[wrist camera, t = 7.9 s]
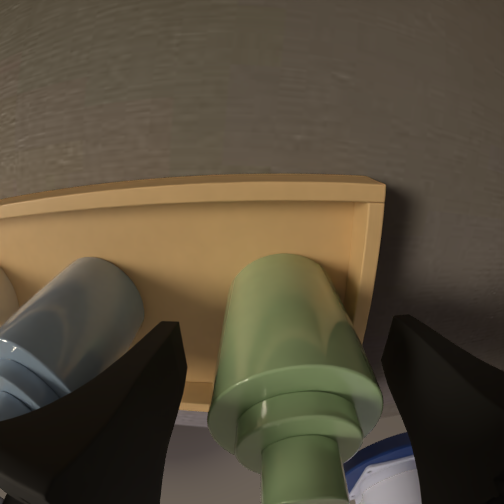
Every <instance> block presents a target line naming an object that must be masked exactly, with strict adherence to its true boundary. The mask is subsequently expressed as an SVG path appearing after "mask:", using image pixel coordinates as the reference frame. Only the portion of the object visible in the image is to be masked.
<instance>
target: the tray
mask: <svg viewBox="0 0 504 504" xmlns="http://www.w3.org/2000/svg"><path fill="white" fill-rule="evenodd" d="M385 195H386V185H385V184H383V183H381V182H378V181H376V180H374V179H371V178H369V177H367V176H359V175H335V174H224V175H200V176H182V177H167V178H154V179H142V180H131V181H121V182H111V183H102V184H94V185H86V186H78V187H71V188H64V189H57V190H50V191H44V192H38V193H32V194H26V195H21V196H15V197H10V198H5V199H0V268H1V269H2V270H3V271H4V272H5V274H6V275H7V277H8V278H9V280H10V282H11V284H12V286H13V288H14V290H15V293H16V295H17V298H18V303H19V308H20V307H21V306H22V305H23V304H24V303H25V302H26V301H27V300H28V299H29V298H30V297H32V296H33V295H34V294H35V293H36V292H37V291H38V290H39V289H41V288H42V287H43V286H44V285H45V284H46V283H47V282H49V281H50V280H51V279H52V278H53V277H54V276H56V275H57V274H58V273H59V272H60V271H61V270H63V269H64V268H65V267H66V266H67V265H69V264H70V263H71V262H73V261H74V260H76V259H79V258H83V257H96V258H100V259H103V260H106V261H108V262H110V263H112V264H114V265H115V266H117V267H118V268H120V269H121V270H122V271H123V272H124V273H125V274H126V275H127V276H128V277H129V278H130V279H131V280H132V281H133V283H134V284H135V286H136V287H137V289H138V291H139V293H140V296H141V298H142V301H143V306H144V322H143V325H142V327H141V329H140V331H139V333H138V335H137V337H136V339H135V340H134V342H133V344H132V346H131V348H132V347H133V346H134V345H135V344H137V343H138V342H139V341H140V340H141V339H142V338H143V337H144V336H145V335H146V334H147V333H149V332H150V331H151V330H152V329H153V328H154V327H155V326H156V325H157V324H159V323H160V322H161V321H177V322H179V324H180V330H181V335H182V341H183V346H184V351H185V357H186V362H187V366H188V368H187V375H186V381H185V387H184V393H183V396H182V400H181V403H180V407H179V410H188V411H203V412H208V410H209V403H210V397H211V391H212V384H213V378H214V372H215V366H216V360H217V354H218V348H219V342H220V336H221V330H222V324H223V318H224V312H225V306H226V301H227V295H228V291H229V288H230V285H231V283H232V281H233V280H234V278H235V277H236V275H237V274H238V273H239V272H240V271H241V270H242V269H243V268H244V267H246V266H247V265H248V264H250V263H251V262H253V261H255V260H257V259H259V258H262V257H265V256H268V255H273V254H281V253H288V254H296V255H301V256H304V257H307V258H309V259H311V260H313V261H315V262H316V263H318V264H319V265H320V266H322V267H323V268H324V269H325V270H326V272H327V273H328V274H329V276H330V277H331V279H332V281H333V283H334V285H335V287H336V289H337V291H338V293H339V296H340V298H341V300H342V302H343V304H344V306H345V308H346V311H347V313H348V315H349V317H350V319H351V322H352V324H353V326H354V328H355V331H356V333H357V335H358V337H359V340H360V342H361V344H362V343H363V339H364V335H365V330H366V325H367V321H368V316H369V311H370V305H371V300H372V295H373V289H374V283H375V277H376V271H377V264H378V257H379V250H380V242H381V234H382V225H383V216H384V203H383V202H385ZM131 348H130V349H131Z"/></svg>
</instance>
